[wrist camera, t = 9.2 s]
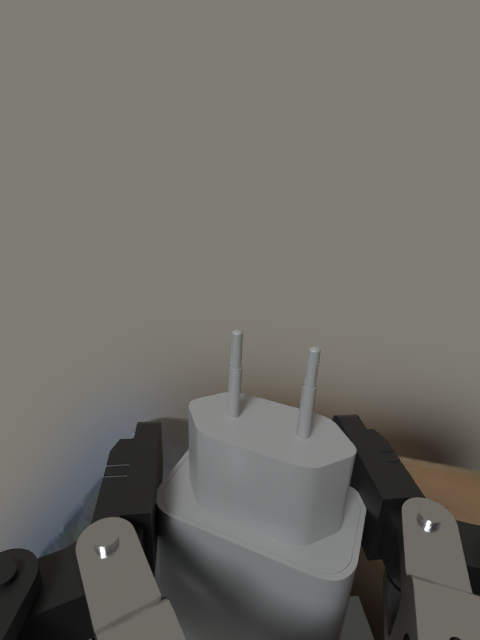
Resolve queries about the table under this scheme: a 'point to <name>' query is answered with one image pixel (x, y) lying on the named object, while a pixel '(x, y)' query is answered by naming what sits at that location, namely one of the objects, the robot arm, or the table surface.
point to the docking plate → (355, 622)
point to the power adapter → (260, 518)
